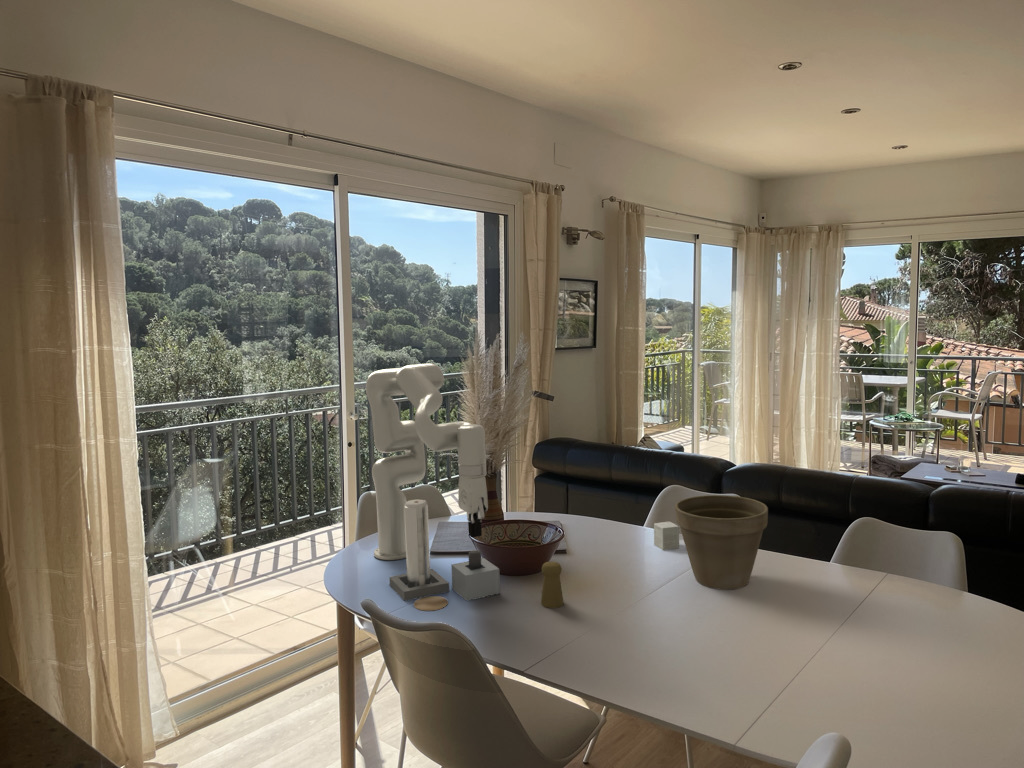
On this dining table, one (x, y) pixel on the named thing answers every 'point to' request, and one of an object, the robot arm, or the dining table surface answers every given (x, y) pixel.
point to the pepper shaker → (551, 585)
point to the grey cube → (666, 535)
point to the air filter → (417, 543)
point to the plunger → (474, 559)
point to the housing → (475, 580)
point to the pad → (430, 603)
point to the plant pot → (721, 537)
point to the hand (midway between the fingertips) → (475, 535)
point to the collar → (406, 593)
